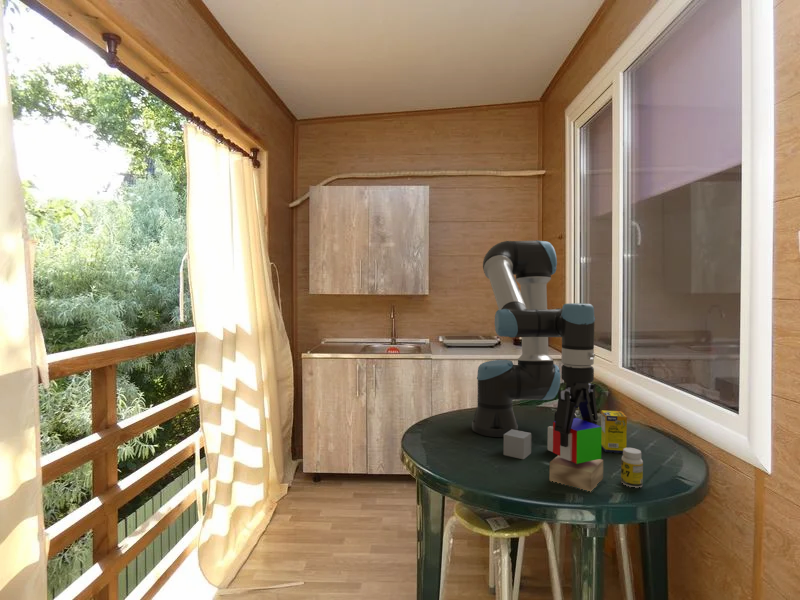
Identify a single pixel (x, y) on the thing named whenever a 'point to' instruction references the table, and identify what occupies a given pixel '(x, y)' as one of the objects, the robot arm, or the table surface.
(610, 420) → the supplement box
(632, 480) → the supplement bottle
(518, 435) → the grey block
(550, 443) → the medicine bottle
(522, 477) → the table surface
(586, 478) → the oak block
